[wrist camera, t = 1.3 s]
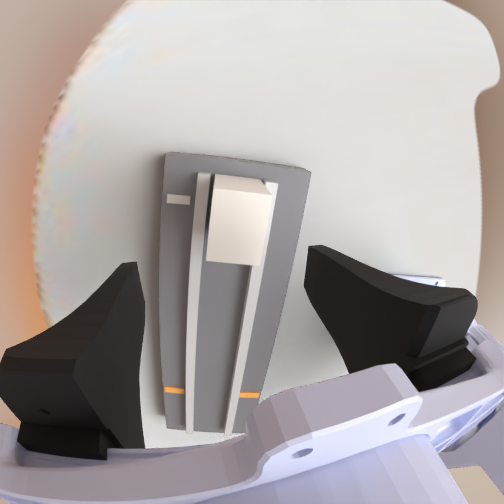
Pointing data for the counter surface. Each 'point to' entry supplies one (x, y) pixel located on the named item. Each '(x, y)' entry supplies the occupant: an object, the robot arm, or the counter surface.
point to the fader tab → (238, 220)
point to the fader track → (220, 293)
